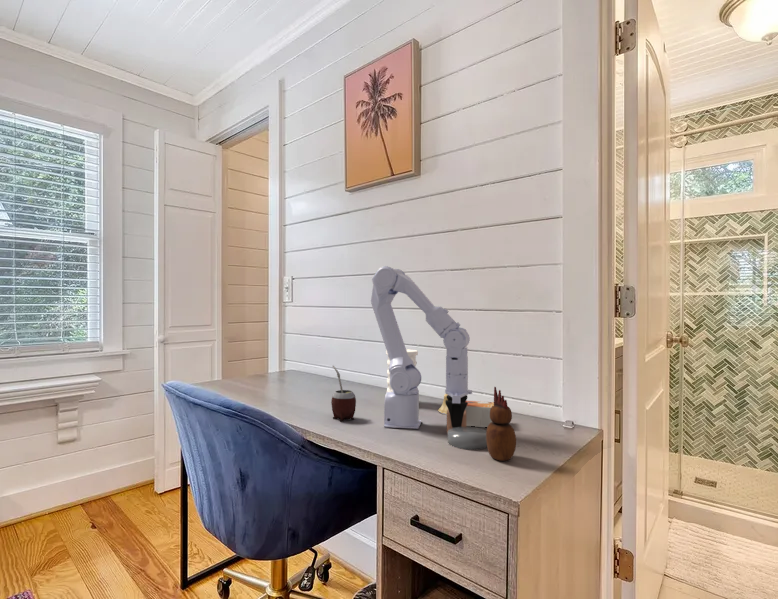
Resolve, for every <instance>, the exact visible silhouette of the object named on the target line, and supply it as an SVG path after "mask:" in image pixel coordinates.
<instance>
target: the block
mask: <svg viewBox="0 0 778 599" xmlns="http://www.w3.org/2000/svg"><path fill="white" fill-rule="evenodd" d="M461 427H467V426H466V410H465V411H464V414H463V420H462V425H461ZM451 428H452V424H451V418H450V413H449V410H447V415H446V434H448V430H449V429H451Z"/></svg>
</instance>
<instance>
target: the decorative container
mask: <svg viewBox="0 0 778 599" xmlns="http://www.w3.org/2000/svg"><path fill="white" fill-rule="evenodd" d="M406 351H407V354H408V356H409V357H410V358H411V359H412V361H413V363H414V365H415V367H416V368H417V366H416V365H417V359H416V358H417V356H418V353H419V351H418V350H416V349H408V348H406ZM385 355H387V361H386V363H387V364H386V365H387V370H386V374H387V378H386V384H387V389H386V393H387V392H393V389H392V388H391V386H390V372H389V365H390V359H389V356H388V353H387V350H385Z"/></svg>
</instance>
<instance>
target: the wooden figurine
mask: <svg viewBox="0 0 778 599" xmlns="http://www.w3.org/2000/svg"><path fill="white" fill-rule="evenodd" d="M507 401H508V400H507V399H505V396H504V395H502V390H501V389H498V391H497V386H494V388H493V402H494V406H492V407H491V409H490V419H491V421H492V422H491V423H490V424H489V425H488V427H487V428H486V430H487V431H486V441H487V448H486V449H487V452H488V453H489V456H490V458H492V459H494V460H496V461H499V462H501V461H502V462H503V461H504V462H505V461H509V460H511V459H513V457H514V454H515V452H516V448H517V437H516V432H515V428H513V426H512V425H511V424H510V423H511V422H512V419H513V414H512V409H511V408H510V407H509V406H508V402H507Z"/></svg>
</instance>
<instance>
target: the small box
mask: <svg viewBox="0 0 778 599" xmlns="http://www.w3.org/2000/svg"><path fill="white" fill-rule="evenodd" d="M466 402H468V404H467V407H466V408H465V410H466V427H471V426H475V428H485V427H488V425H489V424H490V423H491V422H492V421H491V419H490V409H491V407H492V406H494V401H492V402H491V401H481V400H480V401H476V400H466Z"/></svg>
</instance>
